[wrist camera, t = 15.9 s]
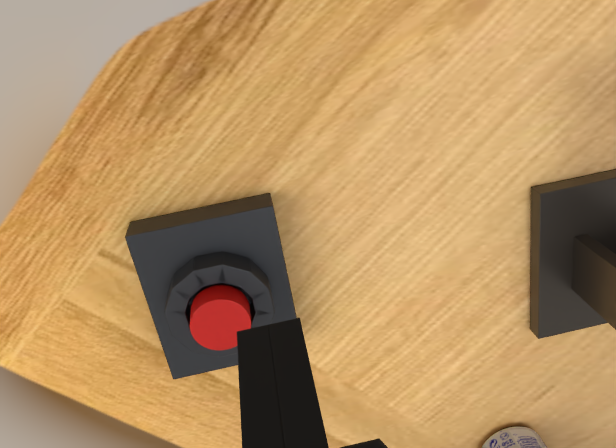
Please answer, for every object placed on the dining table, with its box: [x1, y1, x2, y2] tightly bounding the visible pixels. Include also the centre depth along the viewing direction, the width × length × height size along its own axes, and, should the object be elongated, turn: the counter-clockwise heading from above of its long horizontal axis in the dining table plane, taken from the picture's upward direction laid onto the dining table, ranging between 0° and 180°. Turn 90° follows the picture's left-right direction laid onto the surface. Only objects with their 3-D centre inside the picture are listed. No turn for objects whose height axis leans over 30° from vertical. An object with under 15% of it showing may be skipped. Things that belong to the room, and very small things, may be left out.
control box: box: [125, 193, 296, 379], centre depth 37 cm, size 11×9×4 cm
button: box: [190, 285, 251, 350], centre depth 35 cm, size 4×4×2 cm
